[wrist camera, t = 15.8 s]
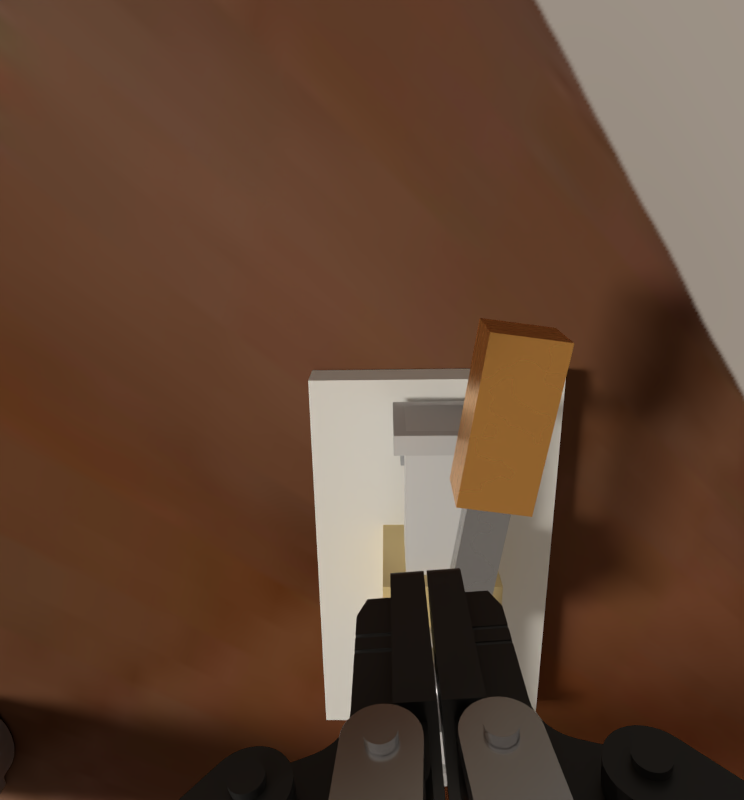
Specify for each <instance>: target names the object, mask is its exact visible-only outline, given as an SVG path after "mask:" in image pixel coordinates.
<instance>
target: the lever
mask: <svg viewBox="0 0 744 800" xmlns="http://www.w3.org/2000/svg"><path fill="white" fill-rule="evenodd" d="M573 346H574V343H573V342H572V341H571V340H570V339H568V338H567V337H566V336H565V335H564V334H562V333H561V332H560V331H559V330H558V329H556V328H552V327H544V326H537V325H529V324H522V323H514V322H506V321H499V320H491V319H483V318H480V320H479V325H478V330H477V336H476V341H475V346H474V352H473V357H472V362H471V368H470V373H469V378H468V384H467V389H466V394H465V400H464V405H463V410H462V416H461V421H460V426H459V431H458V437H457V442H456V447H455V453H454V458H453V463H452V469H451V474H450V483H451V487H452V492H453V496H454V501H455V505H456V508H462V510H461V515H460V520H459V525H458V530H457V535H456V540H455V545H454V550H453V555H452V560H451V565H450V569H452V568H460V570H461V574H462V579H463V584H464V589H465V592H473V591H487V590H488V591H489V592H490V593H491V594H492V595H493V591H494V587H495V582H496V578H497V574H498V569H499V565H500V561H501V556H502V552H503V547H504V543H505V539H506V534H507V530H508V526H509V521H510V517H511V514H513V515H521V516H529V517H532V515H533V511H534V507H535V503H536V499H537V495H538V491H539V486H540V482H541V478H542V474H543V470H544V466H545V462H546V458H547V454H548V449H549V445H550V441H551V437H552V433H553V429H554V425H555V421H556V416H557V412H558V408H559V404H560V400H561V396H562V392H563V388H564V384H565V379H566V375H567V371H568V367H569V363H570V359H571V355H572V351H573ZM432 656H433V665H434V655H433V647H432ZM434 675H435V684H436V694H437V704H438V716H439V729H440V732H442V730H441V721H440V711H439V702H438V693H437V683H436V674H435V665H434Z"/></svg>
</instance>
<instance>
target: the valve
mask: <svg viewBox="0 0 744 800" xmlns="http://www.w3.org/2000/svg"><path fill="white" fill-rule="evenodd" d="M469 373H470V369H402V370H312V373H311V375H310V378H309V380H308V385H309V404H310V422H311V441H312V460H313V478H314V497H315V516H316V534H317V553H318V571H319V590H320V609H321V627H322V646H323V665H324V683H325V702H326V720H348V719H349V718H350V711H351V695H352V680H353V664H354V654H355V651H354V649H355V638H356V636H355V633H356V618H357V615H358V613H359V612H360V610H361V608H362V607H363V605H364V604H365V602H366V601H367V599H377V598H391V588H390V573H399V572H413V571H424V579H425V589H426V598H427V608H428V617H429V627H430V637H431V646H432V647H433V645H432V633H431V621H430V609H429V597H428V584H427V570H438V569H450V565H451V560H452V555H453V550H454V545H455V540H456V535H457V530H458V525H459V520H460V515H461V510H462V508H456V505H455V501H454V496H453V492H452V487H451V483H450V474H451V469H452V463H453V458H454V453H455V447H456V442H457V437H458V431H459V426H460V421H461V416H462V410H463V405H464V400H465V394H466V389H467V384H468V378H469ZM565 382H566V379H565ZM564 393H565V384H564V388H563V392H562V396H561V400H560V404H559V408H558V412H557V416H556V421H555V425H554V429H553V433H552V437H551V441H550V445H549V449H548V454H547V458H546V462H545V466H544V470H543V474H542V478H541V482H540V486H539V491H538V495H537V499H536V503H535V507H534V511H533V515H532V517H529V516H521V515H513V514H511V517H510V521H509V526H508V530H507V534H506V539H505V543H504V547H503V552H502V556H501V561H500V565H499V569H498V574H497V578H496V582H495V587H494V591H493V596H494V598H495V599H496V600H497V601H498V602H499V603H500V604H501V605H502V606H503V610H504V613H505V617H506V620H507V624H508V628H509V631H510V634H511V638H512V643H513V645H514V648H515V652H516V655H517V659H518V662H519V666H520V669H521V673H522V676H523V679H524V683H525V686H526V690H527V693H528V697H529V700H530V703H531V706H532V708H533V709H534V711H535V712H536V703H537V692H538V681H539V670H540V659H541V648H542V637H543V626H544V615H545V603H546V592H547V581H548V570H549V559H550V548H551V537H552V526H553V515H554V504H555V493H556V482H557V471H558V460H559V448H560V437H561V426H562V415H563V404H564ZM440 741H441V753H442V766H443V778H444V786H447V776H446V767H445V758H444V749H443V739H442V732H440Z"/></svg>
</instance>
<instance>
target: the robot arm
mask: <svg viewBox="0 0 744 800" xmlns="http://www.w3.org/2000/svg"><path fill="white" fill-rule="evenodd" d="M427 584H428V597H429V609H430V621H431V633H432V645H433V655H434V665H435V674H436V683H437V693H438V702H439V711H440V721H441V730H442V739H443V749H444V758H445V767H446V776H447V786H448V795H449V800H744V781H743V780H742V779H740V778H739V777H737V776H736V775H734V774H732V773H731V772H729V771H728V770H726V769H725V768H723V767H721V766H720V765H718V764H717V763H715V762H714V761H712V760H711V759H709V758H707V757H706V756H704V755H703V754H701V753H700V752H698V751H696V750H695V749H693V748H692V747H690V746H689V745H687V744H685V743H684V742H682V741H681V740H679V739H678V738H676V737H674V736H672V735H671V734H669V733H667V732H664V731H662V730H660V729H656V728H653V727H648V726H638V725H634V726H626V727H623V728H620V729H617V730H615V731H614V732H612V733H611V734H610V735H609V736H608V737H607V738H606V740H605V742H604V744H598V743H594V742H589V741H585V740H580V739H576V738H572V737H569V736H567V735H564V734H562V733H560V732H558V731H556V730H554V729H553V728H551V727H550V726H548V725H547V724H546V723H545V722H544V721H542V720H541V718H540V717H539V716H538V714H537V713H536V712H535V711H534V709H533V708H532V706H531V703H530V700H529V697H528V693H527V690H526V686H525V683H524V679H523V676H522V673H521V669H520V666H519V662H518V659H517V655H516V652H515V648H514V645H513V643H512V638H511V634H510V631H509V628H508V624H507V620H506V617H505V613H504V610H503V606H502V605H501V604H500V603H499V602H498V601H497V600H496V599H495V598H494V596H493V595H492V594H491V593H490V592H489V591H488V590H487V591H473V592H465V589H464V584H463V579H462V574H461V570H460V568H452V569H438V570H427ZM390 588H391V598H377V599H367V601H366V602H365V604H364V605H363V607H362V608H361V610H360V612H359V613H358V615H357V618H356V633H355V636H356V638H355V649H354V651H355V654H354V664H353V680H352V695H351V711H350V718H349V719H348V720H347V721H346V723H345V724H344V726H343V728H342V730H341V732H340V736H339V738H338V739H337V740H336V741H335V742H334V743H332V744H331V745H330V746H328V747H327V748H325V749H324V750H322V751H320V752H318V753H316V754H313V755H311V756H308V757H305V758H303V759H300V760H297V761H294V762H292V763H290V762H289V761H288V759H287V758H286V757H285V756H284V755H283V754H282V753H281V752H279V751H277V750H276V749H273V748H270V747H263V746H256V747H249V748H245V749H242V750H239V751H237V752H235V753H233V754H231V755H230V756H228V757H226V758H225V759H224V760H223V761H221V762H220V763H219V764H218V765H217V766H216V767H215V768H213V769H212V770H211V771H210V772H209V773H208V774H207V775H206V776H205V777H204V778H202V779H201V780H200V781H199V782H198V783H197V784H196V785H195V786H194V787H192V788H191V789H190V790H189V791H188V792H187V793H186V794H185V795H184V796H183V797H181V798H180V799H179V800H445V790H444V778H443V766H442V753H441V741H440V729H439V716H438V704H437V694H436V684H435V675H434V665H433V656H432V646H431V637H430V627H429V617H428V608H427V598H426V589H425V579H424V571H413V572H399V573H390ZM13 758H14V743H13V739H12V736H11V734H10V732H9V730H8V728H7V726H6V725H5V724H4V723H3V721H2V720H1V719H0V793H1V792H2V790H3V788H4V787H5V785H6V783H5V780H4V775H5V774H6V772H7V771H8V769H9V767H10V766H11V764H12V761H13Z"/></svg>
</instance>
